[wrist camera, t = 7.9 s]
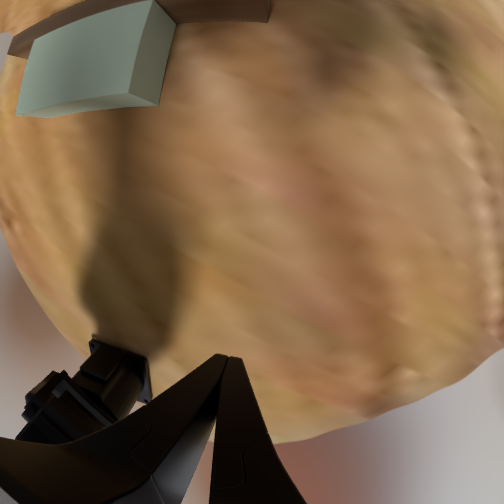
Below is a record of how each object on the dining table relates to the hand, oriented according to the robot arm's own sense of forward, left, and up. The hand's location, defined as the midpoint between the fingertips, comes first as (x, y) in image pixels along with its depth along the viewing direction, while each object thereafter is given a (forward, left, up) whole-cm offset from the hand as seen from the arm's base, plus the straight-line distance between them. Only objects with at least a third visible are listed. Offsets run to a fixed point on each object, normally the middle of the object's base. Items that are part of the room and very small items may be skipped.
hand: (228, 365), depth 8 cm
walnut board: (+18, +14, -11) cm, 25 cm away
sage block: (+13, +15, -11) cm, 23 cm away
